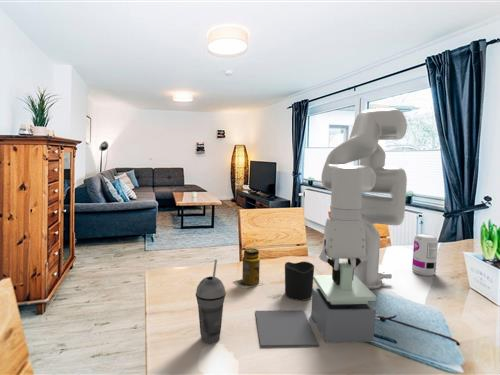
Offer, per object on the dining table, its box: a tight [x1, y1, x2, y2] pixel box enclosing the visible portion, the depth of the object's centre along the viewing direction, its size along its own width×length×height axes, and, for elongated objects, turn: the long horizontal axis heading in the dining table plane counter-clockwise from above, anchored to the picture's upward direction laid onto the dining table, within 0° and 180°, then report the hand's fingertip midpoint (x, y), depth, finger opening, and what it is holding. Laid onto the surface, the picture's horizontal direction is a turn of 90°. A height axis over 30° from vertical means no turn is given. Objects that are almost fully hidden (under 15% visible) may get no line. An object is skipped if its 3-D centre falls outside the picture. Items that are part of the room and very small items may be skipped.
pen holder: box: [284, 261, 315, 301], centre depth 104 cm, size 9×9×10 cm
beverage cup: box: [195, 259, 226, 345], centre depth 78 cm, size 7×7×20 cm
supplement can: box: [411, 233, 439, 277], centre depth 127 cm, size 8×8×15 cm
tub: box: [310, 286, 376, 343], centre depth 85 cm, size 12×14×8 cm
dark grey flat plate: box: [255, 309, 320, 348], centre depth 84 cm, size 14×17×1 cm
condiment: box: [232, 247, 265, 290], centre depth 113 cm, size 7×8×12 cm
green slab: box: [313, 259, 377, 304], centre depth 84 cm, size 12×14×8 cm
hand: (342, 282), depth 84 cm, fingers closed on green slab, 2 cm apart
